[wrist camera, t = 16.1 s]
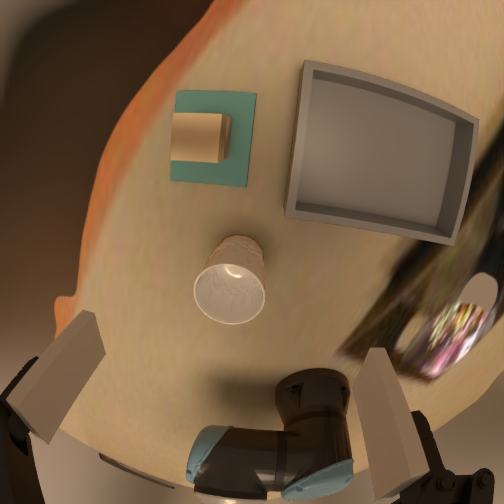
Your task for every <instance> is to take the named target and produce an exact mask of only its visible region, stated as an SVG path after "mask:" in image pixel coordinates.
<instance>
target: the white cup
mask: <svg viewBox="0 0 504 504" xmlns="http://www.w3.org/2000/svg"><path fill="white" fill-rule="evenodd" d="M193 293H194V298H195V301H196V304H197V305H198V307H199V308H200V310H201V311H202V312H203V313H204V314H205V315H206V316H208V317H209V318H211V319H213V320H215V321H217V322H220V323H223V324H230V325H236V324H242V323H246V322H248V321H250V320H252V319H254V318H255V317H256V316H257V315H258V314H259V313H260V312H261V310H262V309H263V307H264V304H265V267H264V260H263V251H262V249H261V248H260V247H259V245H258V244H257V242H256V241H254V240H252V239H251V238H249V237H247V236H240V235H234V236H231V237H228V238H225V239H224V240H223V241H222V242H221V243H220V244H219V245H218V247H217V248H216V249H215V251H214V252H213V253H212V255H211V256H210V258H209V259H208V261H207V262H206V264H205V266H204V267H203V269H202V271H201V272H200V274H199V275H198V277H197V279H196V281H195V283H194V288H193Z"/></svg>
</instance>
